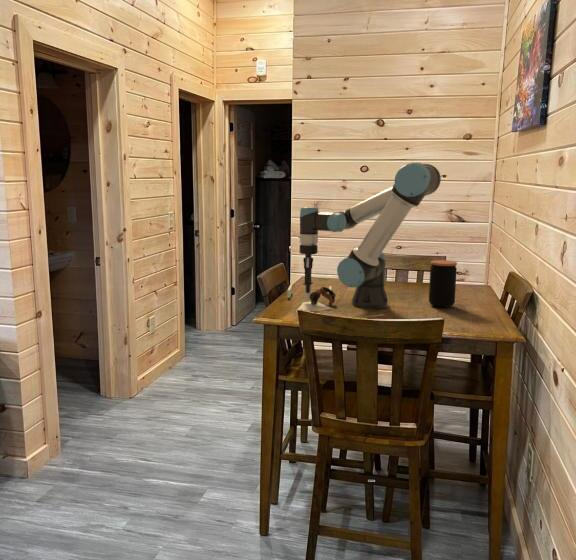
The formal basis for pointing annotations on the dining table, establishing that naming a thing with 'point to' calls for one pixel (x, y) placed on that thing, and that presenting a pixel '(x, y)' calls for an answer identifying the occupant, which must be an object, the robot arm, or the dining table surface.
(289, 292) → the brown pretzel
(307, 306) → the mat
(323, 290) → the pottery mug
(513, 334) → the dining table surface
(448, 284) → the coffee jar
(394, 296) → the dining table surface
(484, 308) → the dining table surface
